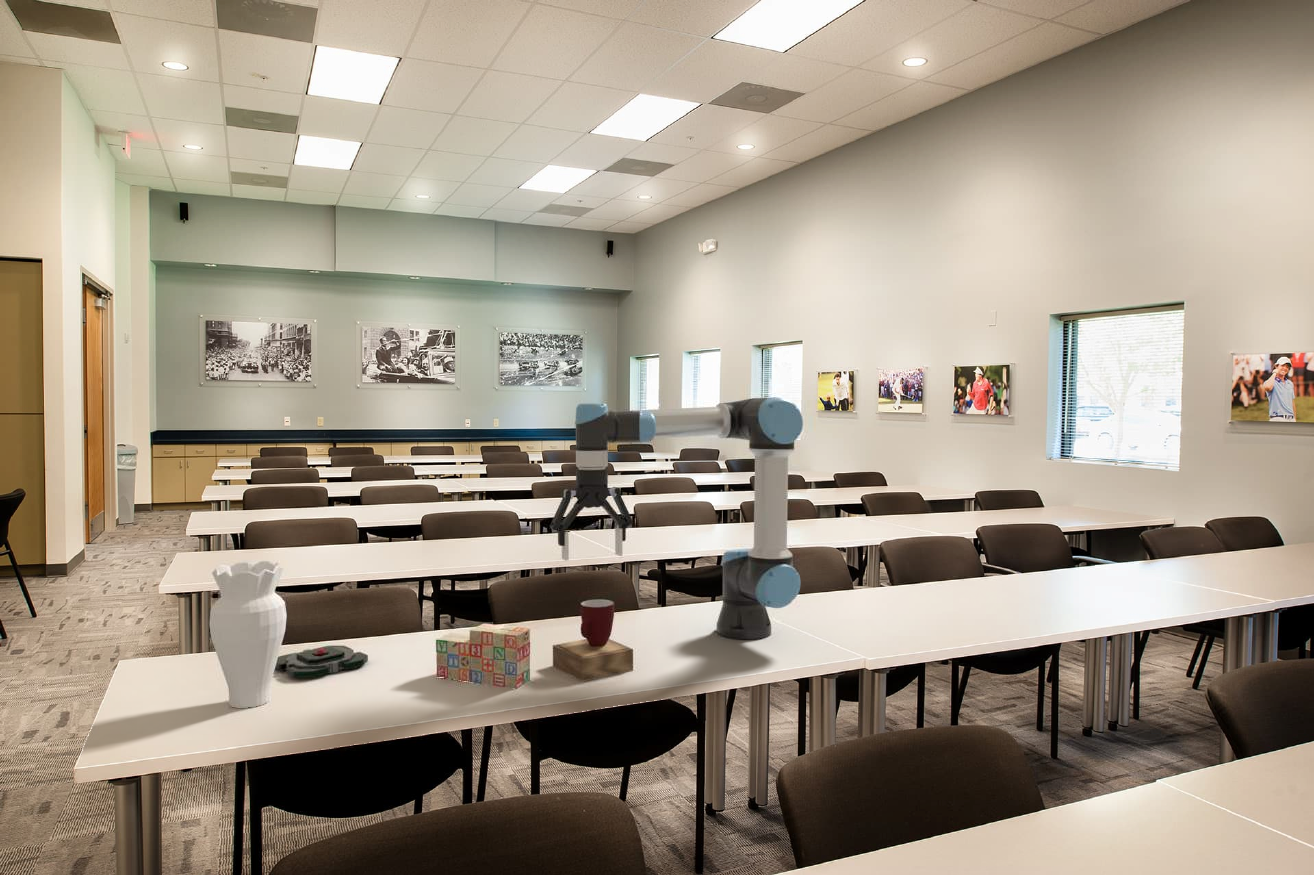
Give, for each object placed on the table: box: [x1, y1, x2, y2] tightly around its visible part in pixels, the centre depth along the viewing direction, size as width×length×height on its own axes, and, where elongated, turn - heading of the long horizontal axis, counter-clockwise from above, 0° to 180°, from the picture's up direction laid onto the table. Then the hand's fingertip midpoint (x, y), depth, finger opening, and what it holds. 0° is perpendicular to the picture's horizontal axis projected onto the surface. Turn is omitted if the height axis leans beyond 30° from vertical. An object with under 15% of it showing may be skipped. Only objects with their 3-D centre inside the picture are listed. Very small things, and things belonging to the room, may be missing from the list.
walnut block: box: [552, 638, 634, 682], centre depth 202 cm, size 14×14×5 cm
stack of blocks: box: [435, 623, 531, 690], centre depth 193 cm, size 21×6×12 cm, turn 70°
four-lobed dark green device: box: [275, 645, 369, 678], centre depth 203 cm, size 18×18×5 cm
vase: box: [208, 560, 288, 709], centre depth 178 cm, size 15×15×29 cm
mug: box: [580, 599, 615, 647], centre depth 202 cm, size 11×8×10 cm
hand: (592, 557), depth 201 cm, fingers open, 13 cm apart
